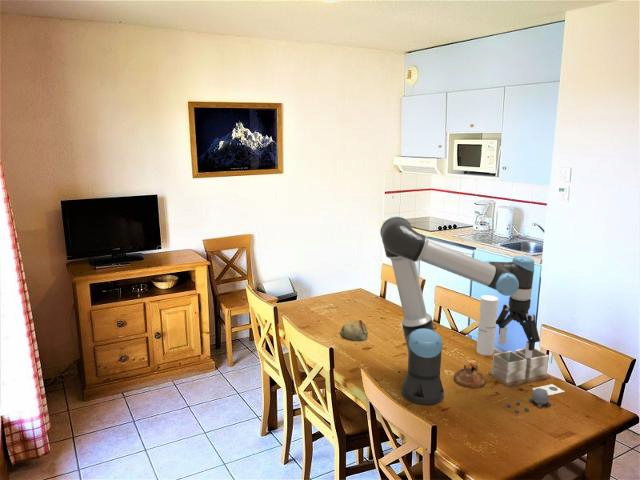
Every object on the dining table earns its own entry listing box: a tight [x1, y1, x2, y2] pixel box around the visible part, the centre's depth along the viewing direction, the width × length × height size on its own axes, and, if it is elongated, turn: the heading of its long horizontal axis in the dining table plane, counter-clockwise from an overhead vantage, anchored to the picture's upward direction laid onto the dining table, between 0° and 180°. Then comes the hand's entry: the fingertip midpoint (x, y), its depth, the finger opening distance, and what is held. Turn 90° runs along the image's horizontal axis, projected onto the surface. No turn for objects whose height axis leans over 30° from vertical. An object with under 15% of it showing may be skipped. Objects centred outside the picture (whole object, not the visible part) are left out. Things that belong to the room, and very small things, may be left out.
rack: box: [488, 347, 551, 388], centre depth 199 cm, size 21×11×9 cm, turn 111°
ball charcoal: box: [531, 388, 550, 405], centre depth 180 cm, size 6×6×6 cm
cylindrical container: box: [476, 294, 499, 356], centre depth 219 cm, size 7×7×25 cm
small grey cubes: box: [505, 397, 552, 415], centre depth 178 cm, size 15×5×1 cm, turn 111°
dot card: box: [531, 383, 565, 396], centre depth 189 cm, size 10×6×1 cm, turn 111°
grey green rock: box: [340, 319, 369, 342], centre depth 237 cm, size 14×12×8 cm
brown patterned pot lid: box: [453, 361, 486, 389], centre depth 195 cm, size 12×12×7 cm
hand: (514, 350), depth 193 cm, fingers open, 13 cm apart
